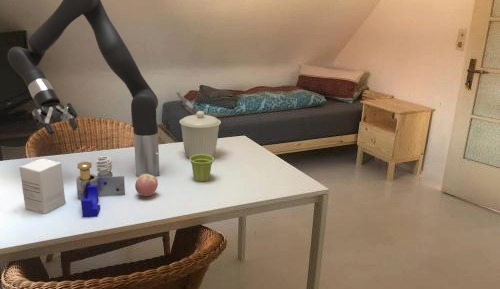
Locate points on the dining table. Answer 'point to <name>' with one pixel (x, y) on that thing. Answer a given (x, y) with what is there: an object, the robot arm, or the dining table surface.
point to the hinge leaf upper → (105, 184)
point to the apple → (146, 184)
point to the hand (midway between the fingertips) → (64, 131)
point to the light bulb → (104, 166)
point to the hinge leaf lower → (83, 192)
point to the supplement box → (42, 185)
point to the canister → (200, 134)
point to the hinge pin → (84, 170)
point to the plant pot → (201, 166)
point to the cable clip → (91, 202)
